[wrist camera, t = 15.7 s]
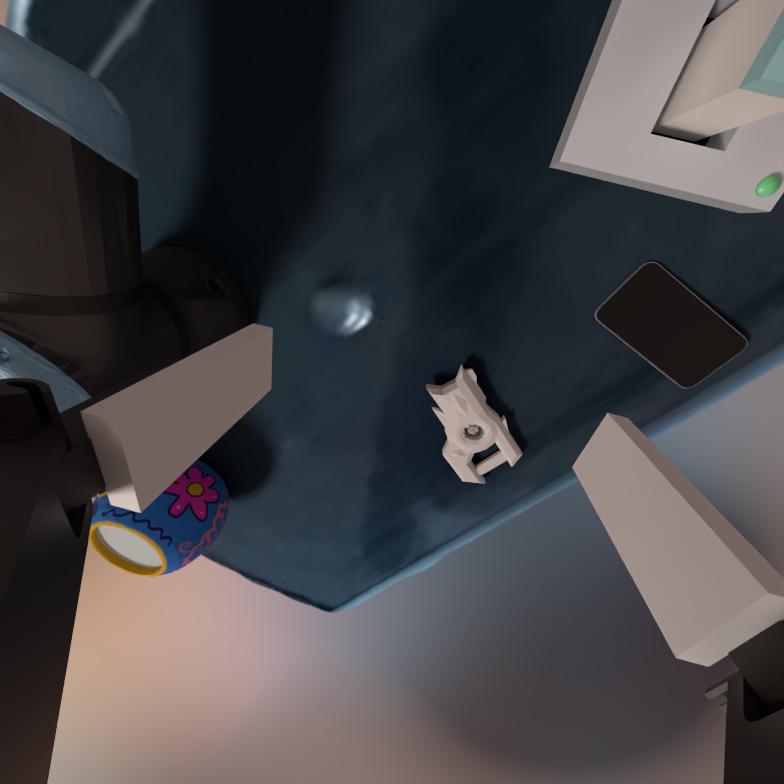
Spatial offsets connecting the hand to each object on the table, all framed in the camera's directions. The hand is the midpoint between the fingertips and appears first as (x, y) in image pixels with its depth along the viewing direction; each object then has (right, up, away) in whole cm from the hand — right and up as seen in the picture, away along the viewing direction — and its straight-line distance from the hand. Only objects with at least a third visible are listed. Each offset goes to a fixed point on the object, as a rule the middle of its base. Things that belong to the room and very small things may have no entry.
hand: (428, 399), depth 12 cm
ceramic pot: (-36, -15, +44) cm, 59 cm away
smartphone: (+29, +8, +23) cm, 37 cm away
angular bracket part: (+9, -4, +32) cm, 33 cm away
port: (+23, +25, +13) cm, 37 cm away
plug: (+23, +25, +13) cm, 37 cm away
